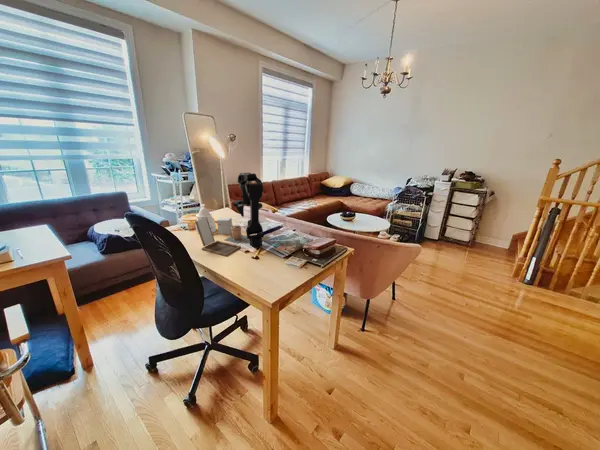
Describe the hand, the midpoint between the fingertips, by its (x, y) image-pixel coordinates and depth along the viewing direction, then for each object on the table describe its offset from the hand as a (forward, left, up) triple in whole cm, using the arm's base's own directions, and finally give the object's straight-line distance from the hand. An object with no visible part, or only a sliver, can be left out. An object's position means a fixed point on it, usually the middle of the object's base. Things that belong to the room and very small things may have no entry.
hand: (248, 217), depth 154 cm
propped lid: (+12, +24, -3) cm, 27 cm away
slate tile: (+3, +9, -12) cm, 16 cm away
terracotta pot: (+3, +9, -11) cm, 15 cm away
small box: (+17, +4, -13) cm, 22 cm away
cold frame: (+4, +25, -12) cm, 28 cm away
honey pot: (+33, +6, -13) cm, 36 cm away
